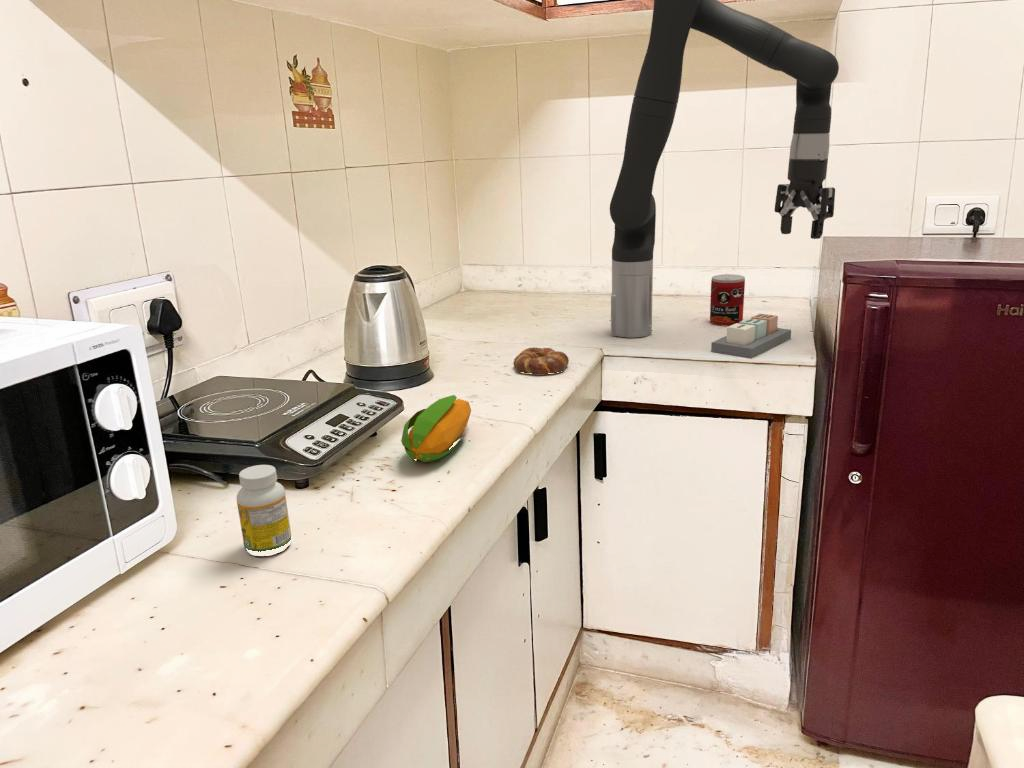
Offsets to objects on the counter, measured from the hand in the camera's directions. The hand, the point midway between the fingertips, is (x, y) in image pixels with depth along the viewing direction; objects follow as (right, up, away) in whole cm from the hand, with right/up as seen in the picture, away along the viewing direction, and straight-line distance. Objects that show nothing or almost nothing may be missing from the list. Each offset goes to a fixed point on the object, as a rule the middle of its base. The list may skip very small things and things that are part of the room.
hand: (800, 236), depth 163 cm
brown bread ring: (-56, -29, -8) cm, 63 cm away
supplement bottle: (-90, -51, -73) cm, 127 cm away
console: (-10, -23, +2) cm, 25 cm away
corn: (-72, -41, -46) cm, 95 cm away
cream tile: (-14, -23, -3) cm, 27 cm away
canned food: (-10, -17, +22) cm, 29 cm away
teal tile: (-10, -21, +1) cm, 24 cm away
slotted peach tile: (-6, -20, +5) cm, 22 cm away
